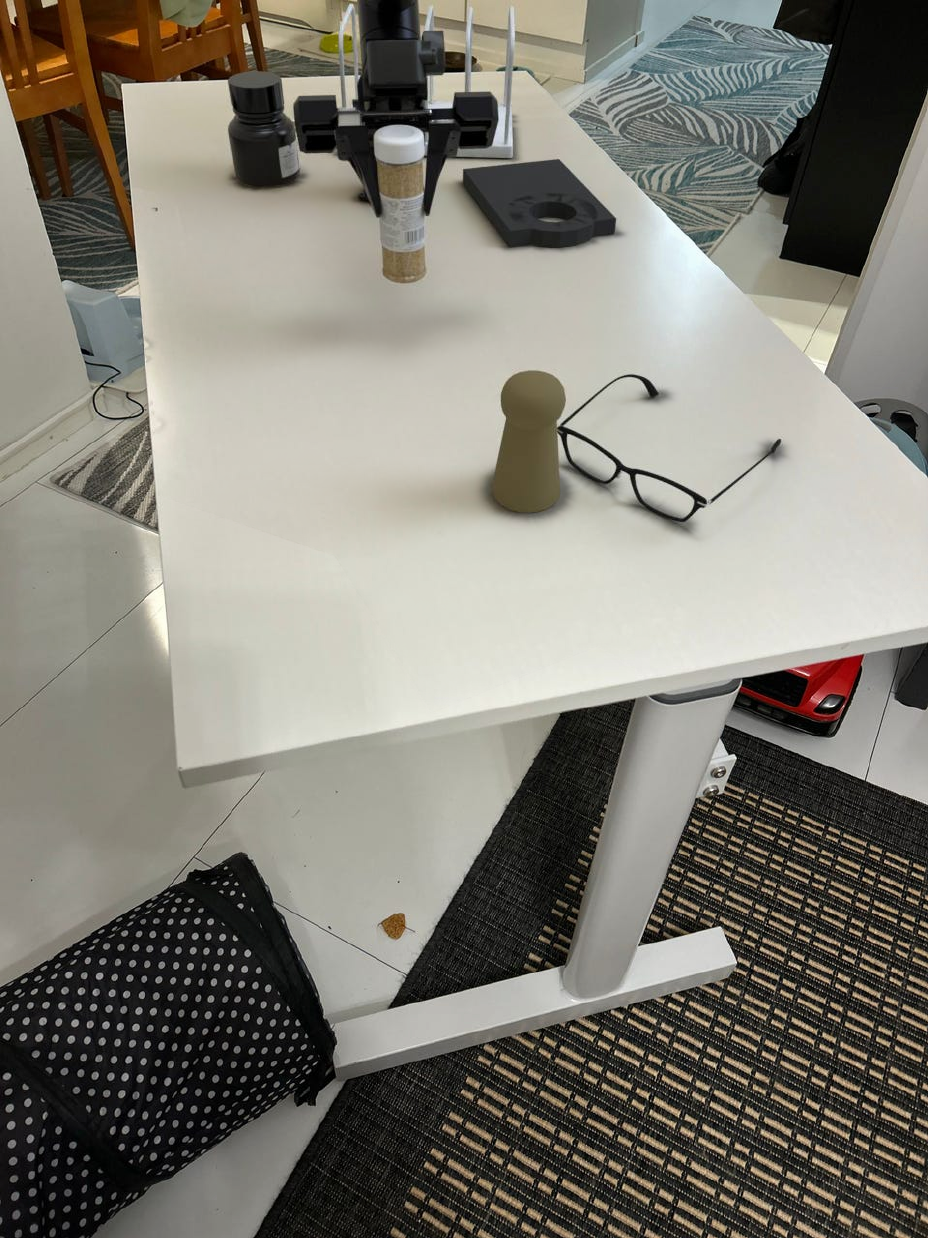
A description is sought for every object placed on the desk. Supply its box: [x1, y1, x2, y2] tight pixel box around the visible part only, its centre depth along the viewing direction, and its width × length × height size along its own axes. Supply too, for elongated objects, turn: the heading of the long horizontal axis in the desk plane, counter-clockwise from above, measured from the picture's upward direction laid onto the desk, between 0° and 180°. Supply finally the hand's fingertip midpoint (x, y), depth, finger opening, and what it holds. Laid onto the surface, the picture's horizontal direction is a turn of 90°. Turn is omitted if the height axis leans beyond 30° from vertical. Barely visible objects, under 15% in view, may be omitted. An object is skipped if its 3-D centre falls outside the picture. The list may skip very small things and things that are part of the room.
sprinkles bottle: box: [374, 125, 427, 284], centre depth 86 cm, size 5×5×13 cm
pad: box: [462, 158, 617, 248], centre depth 117 cm, size 22×14×2 cm, turn 17°
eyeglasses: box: [557, 373, 782, 523], centre depth 81 cm, size 16×16×4 cm
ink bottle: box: [227, 70, 301, 188], centre depth 120 cm, size 10×9×12 cm
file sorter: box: [337, 3, 516, 159], centre depth 130 cm, size 25×17×16 cm
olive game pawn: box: [491, 369, 567, 514], centre depth 75 cm, size 6×6×11 cm
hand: (402, 215), depth 85 cm, fingers closed on sprinkles bottle, 4 cm apart
